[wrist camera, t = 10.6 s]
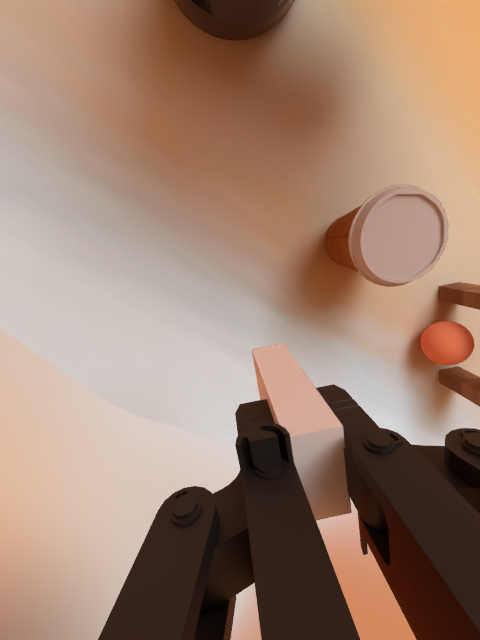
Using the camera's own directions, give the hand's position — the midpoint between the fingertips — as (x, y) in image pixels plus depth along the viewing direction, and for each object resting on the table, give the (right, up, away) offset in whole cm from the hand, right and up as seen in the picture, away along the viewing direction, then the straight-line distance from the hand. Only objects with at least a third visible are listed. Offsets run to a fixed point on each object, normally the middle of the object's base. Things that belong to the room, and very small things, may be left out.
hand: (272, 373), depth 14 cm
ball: (+27, -1, +27) cm, 38 cm away
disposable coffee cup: (+13, +13, +25) cm, 31 cm away
